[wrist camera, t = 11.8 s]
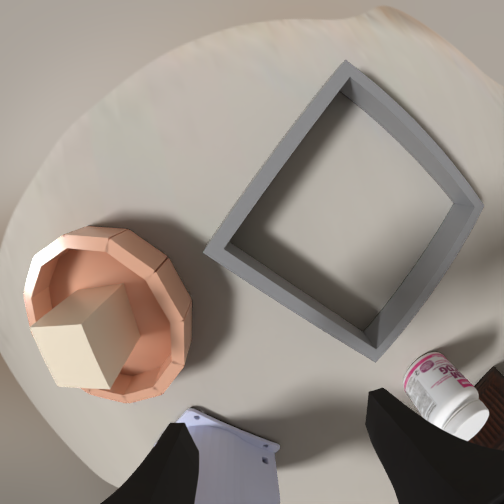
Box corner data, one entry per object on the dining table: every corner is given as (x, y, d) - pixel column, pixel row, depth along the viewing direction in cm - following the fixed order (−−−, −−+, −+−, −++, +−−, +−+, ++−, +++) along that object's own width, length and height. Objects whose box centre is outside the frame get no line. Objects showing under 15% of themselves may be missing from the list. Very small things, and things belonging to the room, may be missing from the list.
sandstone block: (123, 282, 18) (81, 324, 12) (140, 336, 19) (110, 389, 13) (77, 289, 18) (29, 327, 12) (94, 339, 19) (57, 386, 13)
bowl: (225, 294, 19) (223, 315, 16) (148, 400, 21) (139, 424, 18) (80, 193, 17) (55, 197, 14) (34, 318, 19) (14, 334, 16)
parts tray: (463, 201, 18) (484, 205, 15) (363, 344, 20) (375, 362, 18) (332, 73, 16) (345, 59, 13) (207, 242, 18) (202, 252, 15)
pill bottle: (447, 344, 21) (501, 395, 13) (438, 383, 22) (481, 436, 14) (405, 358, 21) (455, 422, 13) (398, 398, 22) (436, 460, 14)
